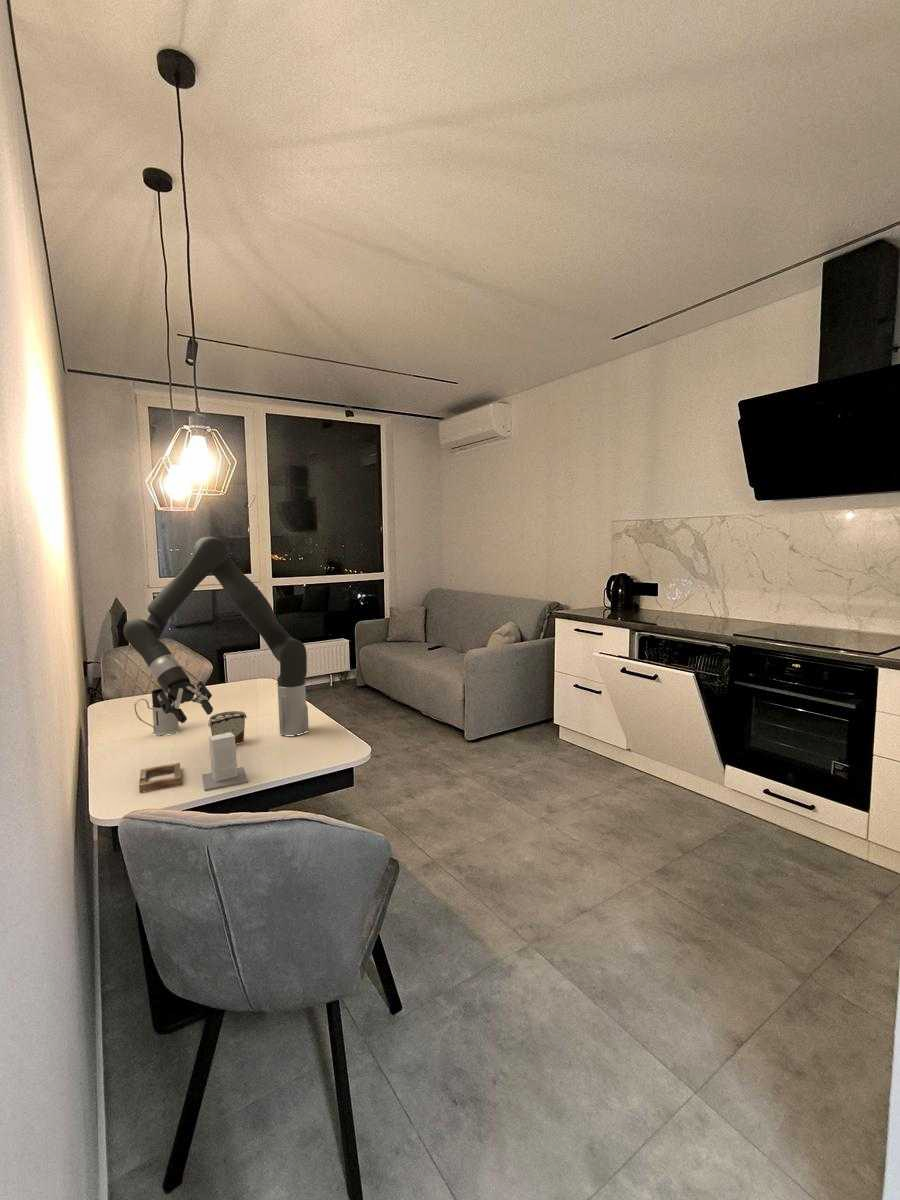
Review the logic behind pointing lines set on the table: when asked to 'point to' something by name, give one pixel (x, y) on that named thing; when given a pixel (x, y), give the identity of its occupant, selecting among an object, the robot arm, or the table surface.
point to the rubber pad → (211, 784)
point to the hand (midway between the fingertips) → (198, 717)
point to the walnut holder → (162, 782)
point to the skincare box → (223, 756)
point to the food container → (228, 724)
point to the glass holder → (161, 716)
